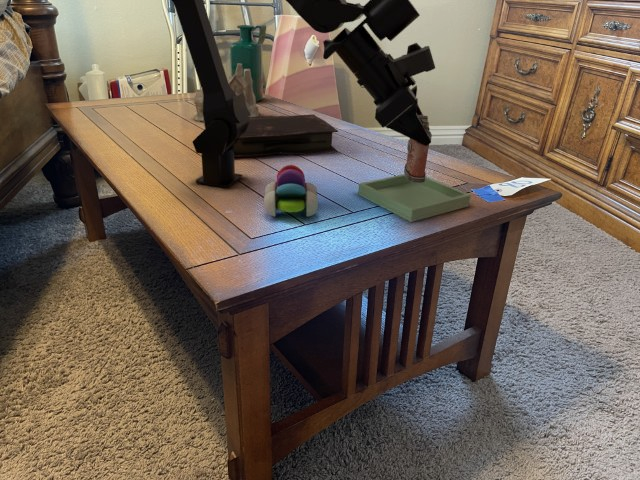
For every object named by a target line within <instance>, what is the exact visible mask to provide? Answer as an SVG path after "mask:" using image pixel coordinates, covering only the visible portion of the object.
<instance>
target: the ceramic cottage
mask: <svg viewBox="0 0 640 480" xmlns="http://www.w3.org/2000/svg"><path fill="white" fill-rule="evenodd" d="M242 75H243V68H242V64H238V65H237V68H236V74H235V75H234V76H233V77H231V76H228V83H229V85H230V87H231V89H232V90H233V91H234V92H235V94H236V95H239V94H241V93H244V96H245V101H246V107H247V109H248V111H249V112H250V113H251V115H250V116H249V117H258V116H260V109H259V106H258V105H257V102H256V100H255V95H254V93H253V87H252V82H253V81H252V78H251V71H250V69H244V77H243V76H242ZM193 104H194V105H195V110H196V114H195V121H198V122H199V121H200V122H203V123H204V119H203V91H202V89H199V88H198V89H196V90H195V95H194V99H193Z"/></svg>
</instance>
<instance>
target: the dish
mask: <svg viewBox="0 0 640 480" xmlns="http://www.w3.org/2000/svg"><path fill="white" fill-rule="evenodd" d="M357 191H358V192H357V195H358V196H360V197H363V198H364V199H365V200H368V201H369V202H372V203H374V204H375V205H377V206H379V207H381V208H383V209H385V210H387V211H389V212H391V213H393V214H394V215H396V216H398V217H400V218H402V219H403V220H406V221H408V222H410V223H413V222H416V221H420V220H424V219H428V218H431V217H435V216H438V215H443V214H446V213H449V212H453V211H457V210H460V209H465V208H468V207H470V203H471V197H472V195H471V194H469V193H467V192H466V191H465V192H464V191H463V190H460V189H458V188H455V187H452V186H450V185H449V184H448V185H447V184H445V183H443V182H441V181H438V180H436V179H434V178H431V177H428V176H427V175H426V176H425V182H423V183H414V182H410V181H409V180H408V179H407V178H406V176H405V174H404V173H403V174H398V175H393V176H388V177H384V178H379V179H374V180H369V181H364V182H360V183H358V190H357Z"/></svg>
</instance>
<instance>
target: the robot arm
mask: <svg viewBox="0 0 640 480" xmlns="http://www.w3.org/2000/svg"><path fill="white" fill-rule="evenodd" d="M285 1H286V3H287V4H289V5H290V7H291V8H292V9H293V10H294V11H295V12H296V14H297V15H298V16H299V17H300V18H301V19H302V20H303V21H305V23H306V24H308V26H309V27H311V28H312V29H313V30H314V31H315V32H318V33H320V34H329V33H333V32H335V31H338V30H339V29H340V28H342V27H343V26H344V25H345V24H347V23H353V22H355V21H357V20H359V19H360V20H361V18H362V17H363V16H364V17H365V18H364V19H363V20H362V21H361V22H360V23H359V24H358V25H356V26H355V27H354V28H353V29H352V30H350V29H349V28H347V27H344V28H343V29H342V30H341V31H340V32H339V33H338V34H337V35H336V36H335V37H333V38H332V39H325V40H323V54H322V58H323V59H324V60H328V59H329V58H330V57H331V56H332V55H334V53H336V55H337V56H338V57H339V58H340V59H341V61H342V62H343V63H344V64H345V65H346V67H347V68H348V69H349V71H350V72H351V73H352V74H353V75H354V77H355V78H356V79H357V80H356V83H357V84H358V85H359V87H362V86H363V88H364V89H365V90H366V92H368V94H369V95H370V96H371V98H372V99H373V103H374V105H375V106H376V108H375V113H374V120H376V121H377V123H378V124H379V125H380V126H381V128H386V129H387V130H389V129H390V130H391V131H394V132H396V133H398V134H400V135H402V136H405V137H407V138H409V139H410V138H411V139H413V140H415V141H417V142H419V143H421V144H423V145H425V146H427V145H429V146H430V145H431V144H432V139H431V140H430V138H429V136H428V134H427V132H426V130H425V128H424V126H423V124H422V123H421V121H420V119H419V117H418V115H423V116H424V114H423V112H422V110H421V108H420V106H419V100H418V97H417V94H418V85H417V84H416V83H417V82H416V80H415V79H414V78H413V77H414V76H416V75H420V74H422V73H424V72H426V73H428V72H431V71H433V70H435V69H436V64H435V62H434V57H433V54H432V51H431V47H430V45H425V46H424V47H422V46H421V45H420V44H418V42H414V43H412V44H410V45H408V46H407V50H406V54H402V55H401V56H399V57H396V58H394V57H393V56H392V55H391V53H387V52H385V51H384V50H383V49H382V47H381V46H380V45H379V43H378V42H377V41H376V40H375V38H374V37H373V36H372V35H371V33H370V31H368V30H367V28H366V27H365V25H366V26H367V27H368V28H369V30H371V32H372V33H373V35H374V36H375V37H376V38H377V39H378V41H380V42H382V41H383V40H384V39H387V40H388V41H390V42H392V41H393V40H394V39H395V38H396V37H398V36H399V35H400V34H401V33H402V32H404V31H405V29H407V28H408V27H409V26H410V25H411V24H412V23H413V22H414V21H416V20H417V19H418V18H419V17H420V16H421V15H420V13H419V12H418V10H417V8H416V7H415V6H414V5H413V3H412V2H411V0H368V1H367V2H366V3H365V4H364V5H362V4H361V3H360V2H358V3H353V2H348V1H347V0H285ZM171 2H172V4H173V6H174V9H175V12H176V15H177V17H178V20H179V24H180V27H181V30H182V34H183V36H184V39H185V42H186V46H187V49H188V51H189V54H190V57H191V60H192V63H193V66H194V70H195V73H196V75H197V78H198V82H199V85H200V88H201V90H202V91H203V119H204V122H203V124H204V130H202V131H201V132H200V134H199V135H197V136H196V137H195V138H194V139H193V140H192V145H193V147H194V150H195V152H196V154H201V170H202V171H201V172H202V175H201V176H199V177H198V178H196V179H195V183H196V184H200V185H206V186H213V187H219V188H226V189H227V188H229V187H231V186H232V185H234V184H235V183H237V182H238V181H239V180H241V179H242V178H243V174H241V173H236V168H235V167H236V166H235V165H236V164H235V157H234V144H235V143H237V142H238V140H239V137H240V136H241V135H242V134H243V133H244V132H245V131H246V129H247V128H248V125H249V119H248V117H249V116H250V115H251V113H250V112H249V111H248V109H247V107H246V101H245V96H244V93H241V94H239V95H236V94H235V92H234V91H233V90H232V89H231V87H230V85H229V79H228V77H227V74H226V70H225V68H224V64H223V62H222V61H223V60H222V58H221V54H220V51H219V48H218V44H217V41H216V38H215V35H214V31H213V29H212V25H211V21H210V19H209V16H208V12H207V9H206V6H205V2H204V0H171ZM410 87H412V88H410ZM430 128H431V127H430V126H429V127H428V130H429V131H431V130H430Z"/></svg>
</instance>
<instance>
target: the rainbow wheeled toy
mask: <svg viewBox="0 0 640 480" xmlns="http://www.w3.org/2000/svg"><path fill="white" fill-rule="evenodd" d="M277 209H278V210H279V211H281V212H286V213H299V212H302V211H304V210H305V215H306V217H307V218H309V217H311V216H314V215H315V214H316V213H317V212H318V211H319V198H318V188H317V187H316V185H314V184H313V183H312V182H308V181H307V182H306V176H305V173H304V171H303V170H302V169H301V168H300V167H298V166H296V165H294V164H288V165H285V166H282V167H281V168H280V170H278V172H277V174H276V181H271V182H270V183H268V184H267V185H266V187H265V189H264V197H263V210H264V212H265V213H266V214H267V215H269V216H271V217H276V216H277Z"/></svg>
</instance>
